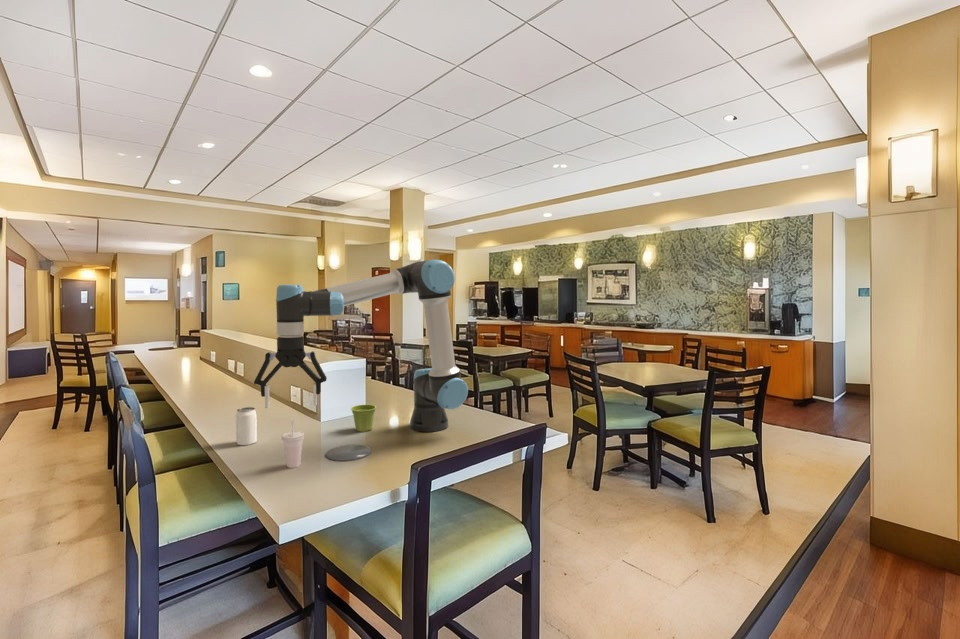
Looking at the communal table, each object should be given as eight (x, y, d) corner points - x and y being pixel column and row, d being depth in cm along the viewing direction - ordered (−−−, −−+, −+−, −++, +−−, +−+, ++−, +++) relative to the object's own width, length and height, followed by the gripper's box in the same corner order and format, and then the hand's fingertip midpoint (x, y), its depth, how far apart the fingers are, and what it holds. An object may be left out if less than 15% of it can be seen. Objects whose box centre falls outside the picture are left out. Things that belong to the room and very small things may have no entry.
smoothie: (282, 471, 137) (281, 424, 136) (282, 463, 143) (281, 419, 142) (305, 467, 140) (304, 422, 139) (304, 460, 146) (303, 416, 145)
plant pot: (374, 433, 174) (374, 410, 174) (348, 433, 174) (348, 410, 173) (378, 425, 184) (377, 404, 183) (354, 426, 183) (353, 404, 182)
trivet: (370, 444, 161) (370, 443, 161) (371, 458, 147) (371, 457, 147) (327, 448, 157) (327, 446, 157) (324, 462, 144) (324, 461, 144)
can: (232, 444, 161) (231, 410, 160) (247, 439, 167) (246, 406, 166) (246, 446, 159) (245, 412, 158) (261, 441, 165) (260, 407, 164)
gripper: (334, 334, 146) (335, 401, 147) (248, 335, 140) (249, 405, 141) (333, 336, 139) (334, 406, 140) (241, 338, 132) (243, 411, 134)
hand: (291, 406), depth 140 cm, fingers open, 13 cm apart
